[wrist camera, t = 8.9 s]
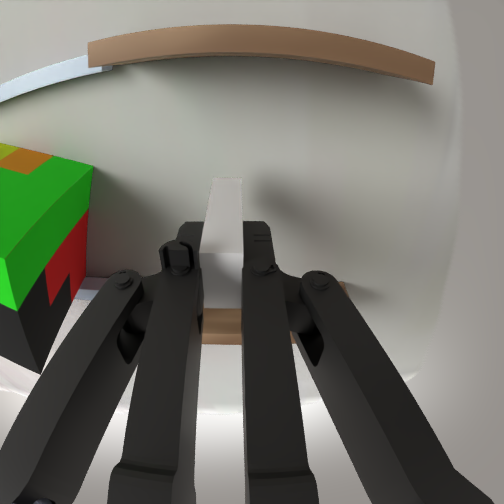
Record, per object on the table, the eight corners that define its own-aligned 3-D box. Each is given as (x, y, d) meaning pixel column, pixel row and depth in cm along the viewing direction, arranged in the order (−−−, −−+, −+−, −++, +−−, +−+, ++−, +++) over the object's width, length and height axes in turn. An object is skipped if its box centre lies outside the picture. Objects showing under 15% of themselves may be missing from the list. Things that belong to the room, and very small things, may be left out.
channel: (127, 45, 12) (87, 42, 8) (388, 57, 13) (435, 61, 9) (157, 292, 23) (145, 341, 19) (339, 292, 24) (355, 339, 20)
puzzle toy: (-1, 243, 20) (-57, 321, 12) (-8, 141, 14) (-99, 207, 6) (86, 275, 22) (40, 374, 14) (93, 165, 17) (4, 259, 9)
